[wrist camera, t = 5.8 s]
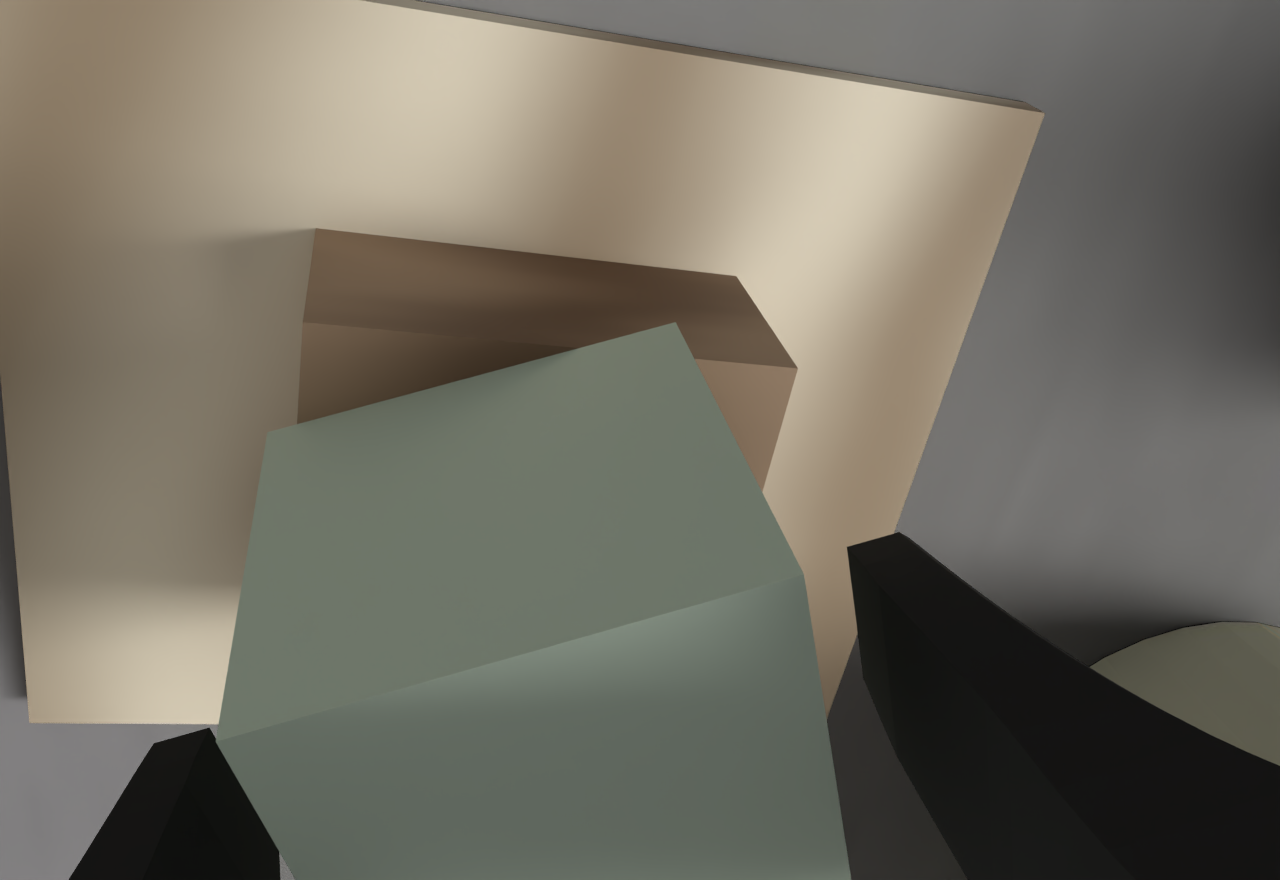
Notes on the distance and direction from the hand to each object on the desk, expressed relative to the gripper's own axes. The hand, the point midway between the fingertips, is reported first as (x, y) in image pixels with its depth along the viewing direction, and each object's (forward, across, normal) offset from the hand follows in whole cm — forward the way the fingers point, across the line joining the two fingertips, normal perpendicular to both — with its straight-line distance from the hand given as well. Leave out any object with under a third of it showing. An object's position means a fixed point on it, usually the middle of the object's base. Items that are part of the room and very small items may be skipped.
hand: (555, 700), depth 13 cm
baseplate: (+6, 0, 0) cm, 6 cm away
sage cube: (+3, 0, 0) cm, 3 cm away
